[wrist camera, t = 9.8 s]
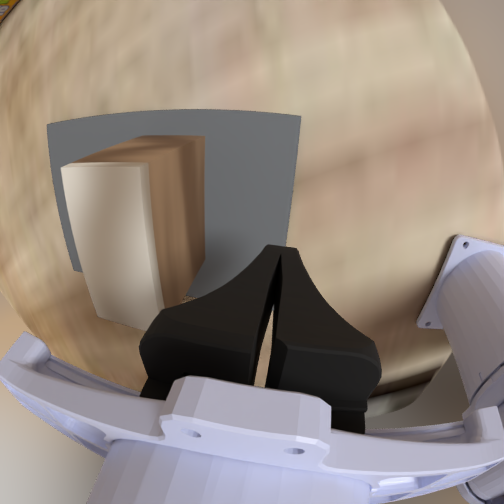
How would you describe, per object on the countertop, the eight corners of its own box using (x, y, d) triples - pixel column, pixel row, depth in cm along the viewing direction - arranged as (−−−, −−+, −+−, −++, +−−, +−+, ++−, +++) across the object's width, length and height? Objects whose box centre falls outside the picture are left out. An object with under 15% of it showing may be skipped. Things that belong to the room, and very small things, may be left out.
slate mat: (301, 116, 14) (301, 116, 13) (276, 307, 20) (275, 310, 20) (50, 123, 16) (46, 124, 15) (76, 267, 22) (73, 270, 22)
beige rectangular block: (205, 135, 15) (139, 166, 9) (205, 259, 19) (163, 335, 13) (142, 135, 15) (60, 167, 9) (151, 250, 19) (98, 316, 13)
